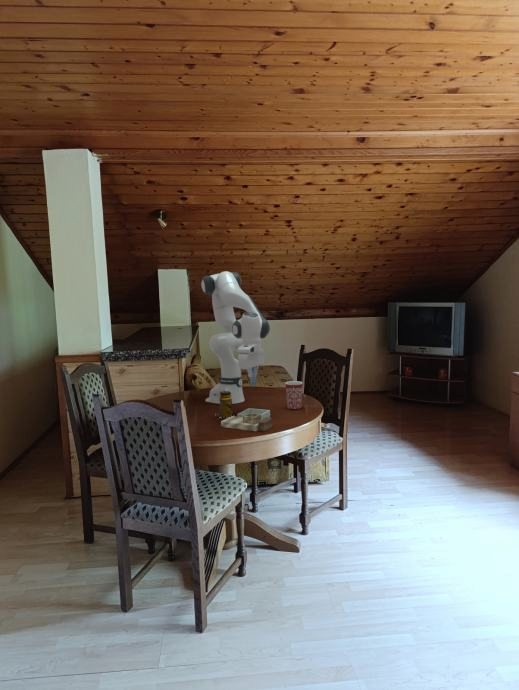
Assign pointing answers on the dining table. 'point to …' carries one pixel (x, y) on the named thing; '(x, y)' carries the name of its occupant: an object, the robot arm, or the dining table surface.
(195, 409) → the dining table surface
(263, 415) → the tray
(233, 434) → the dining table surface
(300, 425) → the dining table surface
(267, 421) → the block
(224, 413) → the condiment
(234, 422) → the board
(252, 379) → the dowel
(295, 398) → the mug
